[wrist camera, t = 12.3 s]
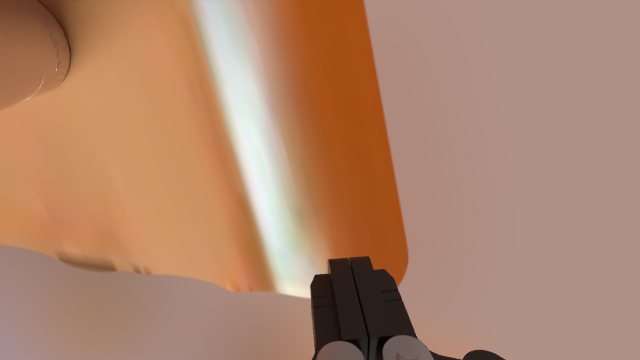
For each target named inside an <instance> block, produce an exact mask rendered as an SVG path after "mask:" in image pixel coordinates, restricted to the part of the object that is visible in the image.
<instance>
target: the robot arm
mask: <svg viewBox="0 0 640 360" xmlns="http://www.w3.org/2000/svg"><path fill="white" fill-rule="evenodd" d="M69 64H70V51H69V47H68V42H67V39H66V37H65V34H64V32H63V30H62V28H61V27H60V25H59V24H58V22H57V20H56V19H55V18H54V17H53V15H52V14H51V13H50V12H49V11H48V10H47V9H46V8H45V7H44V6H43V5H41V4H40V3H39V2H38V1H37V0H0V111H2V110H4V109H7V108H9V107H12V106H14V105H17V104H19V103H22V102H24V101H27V100H29V99H32V98H34V97H37V96H39V95H41V94H44V93H46V92H48V91H50V90H52V89H54V88H56V87H57V86H58V85H59V84H60V83H61V82H62V81H63V79H64V78H65V76H66V74H67V72H68V68H69ZM310 288H311V309H312V324H313V335H314V346H315V354H314V357H313V359H312V360H461V359H456V358H451V357H446V356H441V355H438V354H436V353H434V352H432V351H430V350H429V349H428V348H427V347H426V345H424V344H423V343H422V342H421V341H420V340H418V338H417V336H416V334H415V332H414V329H413V326H412V324H411V321H410V319H409V316H408V313H407V311H406V309H405V306H404V303H403V301H402V298H401V296H400V293H399V292H398V288H397V285H396V283H395V280H394V278H393V277H392V276H391V275H390V274H389V273H388V272H387V271H386V270H385V269H380V270H373V267H372V264H371V261H370V258H369V256H364V257H351V258H349V259H348V258H339V259H328V274H319V275H315V276H314V279H313V281H312V283H311V285H310ZM463 360H505V359H503V358H502V357H500V356H498V355H497V354H494V353H492V352H489V351H485V350H474V351H471V352H469V353H467V354H466V355H465V356H464V358H463Z"/></svg>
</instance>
